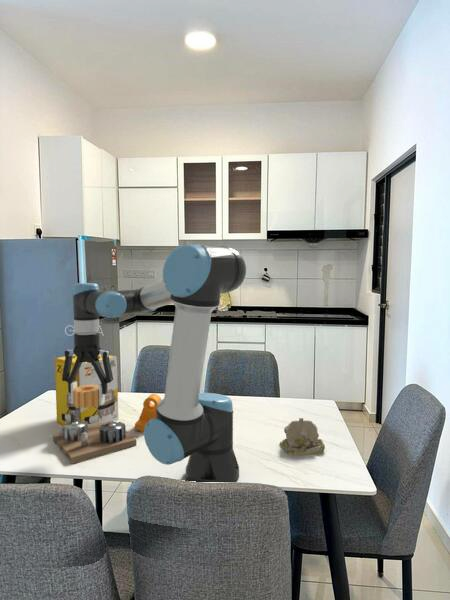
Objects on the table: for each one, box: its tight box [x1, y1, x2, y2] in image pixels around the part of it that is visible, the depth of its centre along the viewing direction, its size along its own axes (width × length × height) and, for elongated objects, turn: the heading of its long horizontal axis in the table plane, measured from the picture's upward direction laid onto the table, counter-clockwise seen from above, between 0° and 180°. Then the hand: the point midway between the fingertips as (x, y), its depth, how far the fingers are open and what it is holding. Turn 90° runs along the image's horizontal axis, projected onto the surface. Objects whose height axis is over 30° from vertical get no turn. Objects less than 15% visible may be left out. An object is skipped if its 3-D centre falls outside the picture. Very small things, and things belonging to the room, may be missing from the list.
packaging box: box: [54, 354, 119, 426], centre depth 154 cm, size 16×16×25 cm
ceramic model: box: [279, 417, 326, 456], centre depth 130 cm, size 14×11×10 cm
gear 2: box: [99, 421, 127, 444], centre depth 134 cm, size 8×8×5 cm
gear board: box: [52, 421, 137, 465], centre depth 135 cm, size 21×21×6 cm
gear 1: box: [61, 413, 89, 441], centre depth 135 cm, size 8×8×7 cm
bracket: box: [134, 393, 162, 433], centre depth 147 cm, size 11×7×12 cm, turn 82°
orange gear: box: [74, 384, 99, 409], centre depth 127 cm, size 8×8×5 cm
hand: (88, 403), depth 127 cm, fingers closed on orange gear, 8 cm apart
